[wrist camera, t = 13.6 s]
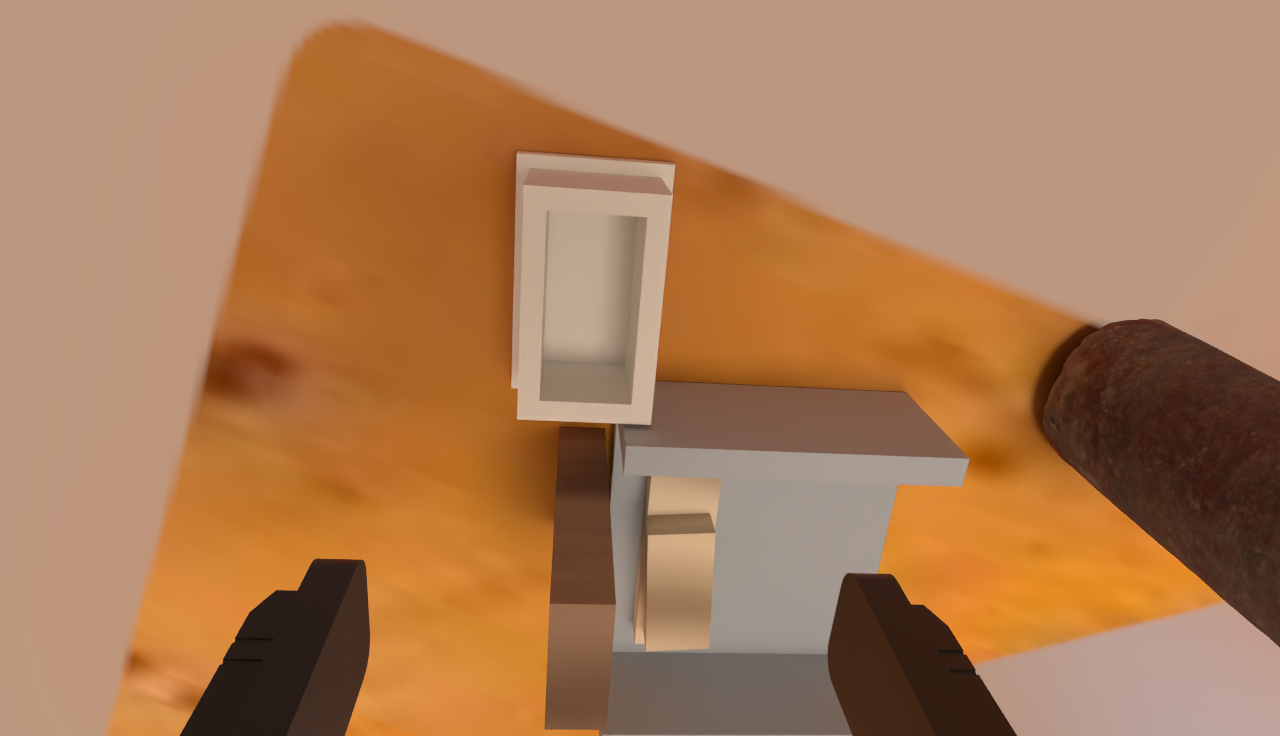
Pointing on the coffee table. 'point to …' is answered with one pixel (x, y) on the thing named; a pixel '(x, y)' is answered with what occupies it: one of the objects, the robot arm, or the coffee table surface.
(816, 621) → the rack
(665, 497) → the block
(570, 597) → the slat
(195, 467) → the coffee table surface
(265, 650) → the robot arm
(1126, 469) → the brown log
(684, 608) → the offcut short
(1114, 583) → the coffee table surface
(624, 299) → the holder
